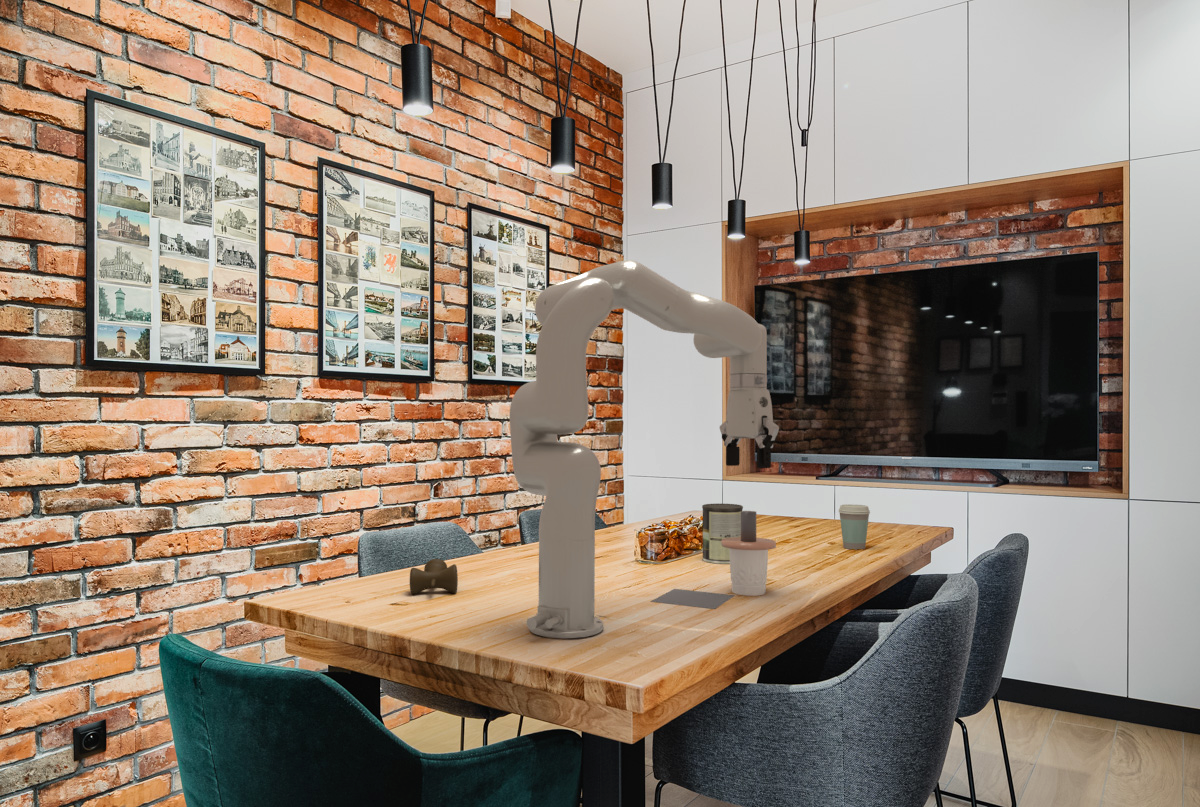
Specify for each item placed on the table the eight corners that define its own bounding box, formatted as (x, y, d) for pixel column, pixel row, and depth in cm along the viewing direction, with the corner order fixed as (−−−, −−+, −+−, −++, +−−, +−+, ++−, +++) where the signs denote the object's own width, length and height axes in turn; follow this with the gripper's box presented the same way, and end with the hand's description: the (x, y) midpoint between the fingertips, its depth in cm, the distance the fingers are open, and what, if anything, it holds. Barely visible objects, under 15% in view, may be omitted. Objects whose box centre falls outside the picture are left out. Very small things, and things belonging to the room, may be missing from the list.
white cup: (765, 591, 163) (765, 543, 163) (770, 599, 155) (770, 549, 156) (727, 590, 164) (727, 542, 164) (730, 598, 156) (730, 548, 156)
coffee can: (693, 559, 200) (693, 505, 200) (720, 555, 207) (720, 502, 207) (724, 565, 192) (724, 508, 193) (751, 561, 199) (751, 505, 199)
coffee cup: (876, 549, 219) (876, 506, 219) (855, 551, 215) (855, 507, 215) (853, 545, 226) (852, 503, 227) (832, 547, 222) (831, 505, 222)
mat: (714, 612, 145) (714, 608, 145) (650, 604, 150) (650, 601, 150) (735, 598, 156) (735, 595, 156) (674, 591, 162) (674, 588, 162)
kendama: (458, 582, 174) (457, 599, 154) (414, 584, 172) (407, 602, 153) (457, 555, 174) (457, 568, 155) (413, 557, 173) (407, 571, 153)
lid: (768, 551, 152) (768, 516, 153) (714, 547, 157) (714, 512, 158) (781, 544, 162) (781, 510, 162) (730, 540, 167) (730, 507, 167)
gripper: (791, 382, 155) (791, 468, 155) (735, 386, 170) (735, 464, 170) (762, 381, 151) (762, 469, 151) (707, 384, 166) (707, 465, 166)
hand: (747, 466), depth 160 cm, fingers open, 9 cm apart
